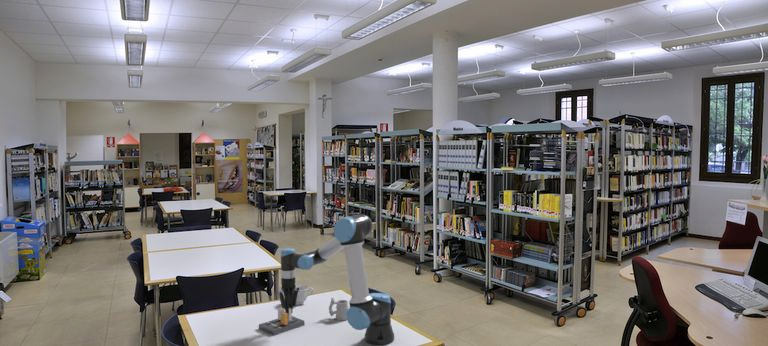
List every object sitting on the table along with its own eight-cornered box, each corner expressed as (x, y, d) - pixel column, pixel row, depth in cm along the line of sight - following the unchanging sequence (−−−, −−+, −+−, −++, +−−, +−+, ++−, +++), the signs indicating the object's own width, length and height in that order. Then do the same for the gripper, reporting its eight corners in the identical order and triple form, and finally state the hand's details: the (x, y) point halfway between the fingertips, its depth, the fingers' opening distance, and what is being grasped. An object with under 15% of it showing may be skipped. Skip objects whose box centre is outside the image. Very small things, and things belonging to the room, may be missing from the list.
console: (304, 325, 259) (304, 320, 259) (273, 335, 245) (273, 330, 245) (289, 319, 269) (289, 314, 269) (258, 329, 254) (258, 324, 254)
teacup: (313, 305, 292) (313, 289, 292) (289, 307, 290) (288, 291, 290) (313, 299, 304) (313, 284, 304) (290, 300, 302) (290, 285, 302)
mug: (347, 321, 265) (347, 300, 265) (327, 320, 267) (327, 299, 266) (350, 316, 273) (350, 296, 272) (330, 315, 274) (330, 295, 274)
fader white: (284, 319, 260) (284, 308, 260) (281, 320, 259) (281, 309, 258) (280, 318, 263) (280, 307, 262) (277, 319, 261) (277, 308, 261)
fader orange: (287, 324, 253) (287, 312, 253) (284, 325, 252) (284, 313, 252) (283, 322, 256) (283, 311, 255) (280, 323, 254) (280, 312, 254)
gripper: (294, 273, 262) (294, 315, 263) (274, 278, 253) (274, 321, 254) (302, 275, 257) (302, 318, 258) (282, 280, 248) (282, 324, 249)
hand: (289, 319), depth 256 cm, fingers closed
